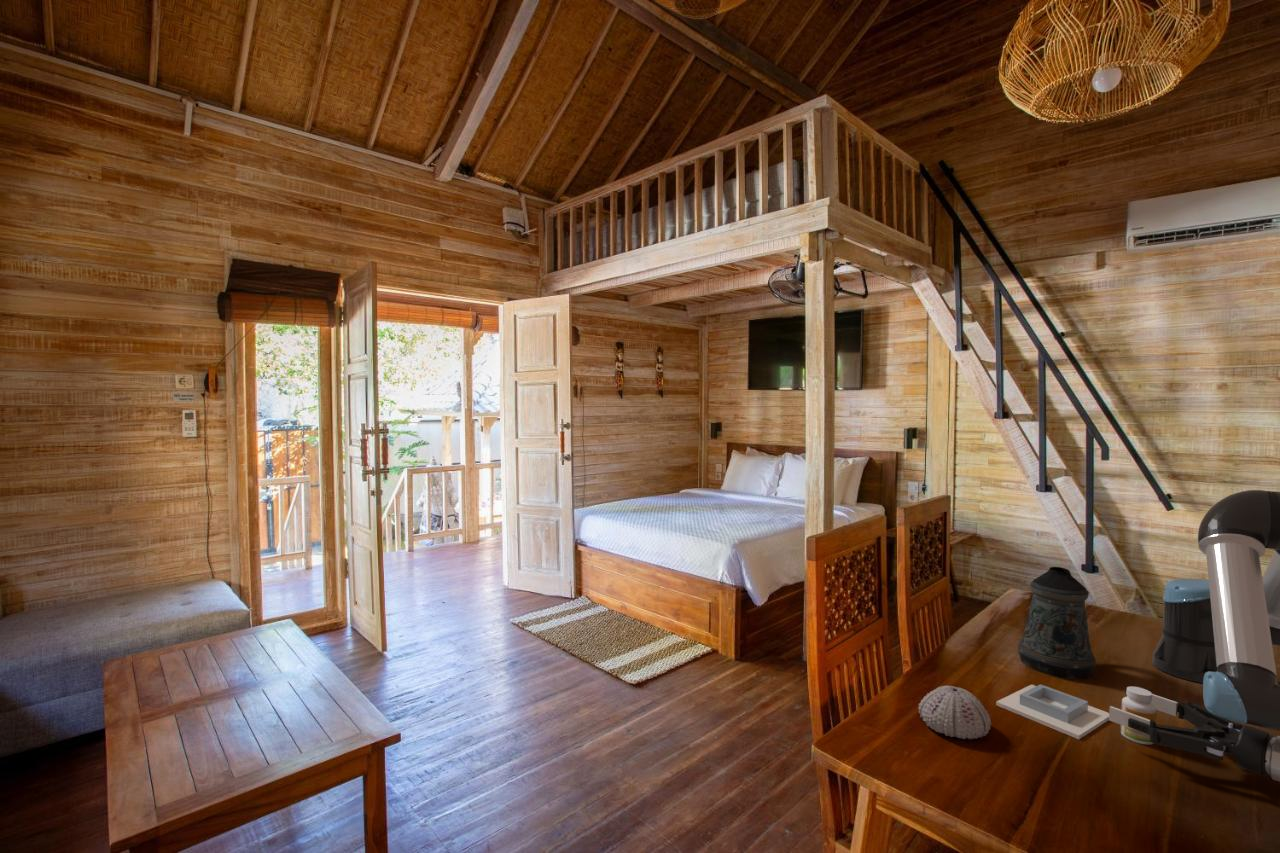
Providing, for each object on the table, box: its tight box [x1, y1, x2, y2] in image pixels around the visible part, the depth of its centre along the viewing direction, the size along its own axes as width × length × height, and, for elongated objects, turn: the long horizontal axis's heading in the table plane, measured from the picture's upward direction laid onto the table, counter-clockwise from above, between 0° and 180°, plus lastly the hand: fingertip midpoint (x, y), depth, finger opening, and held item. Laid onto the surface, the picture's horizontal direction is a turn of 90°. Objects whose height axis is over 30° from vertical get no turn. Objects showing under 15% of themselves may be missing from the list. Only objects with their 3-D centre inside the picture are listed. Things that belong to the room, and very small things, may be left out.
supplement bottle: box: [1120, 686, 1157, 746], centre depth 120 cm, size 5×5×10 cm
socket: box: [995, 684, 1109, 740], centre depth 131 cm, size 16×16×3 cm
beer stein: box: [1017, 566, 1097, 680], centre depth 155 cm, size 16×19×25 cm
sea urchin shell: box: [917, 685, 992, 740], centre depth 124 cm, size 13×14×8 cm
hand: (1123, 704), depth 122 cm, fingers open, 13 cm apart
